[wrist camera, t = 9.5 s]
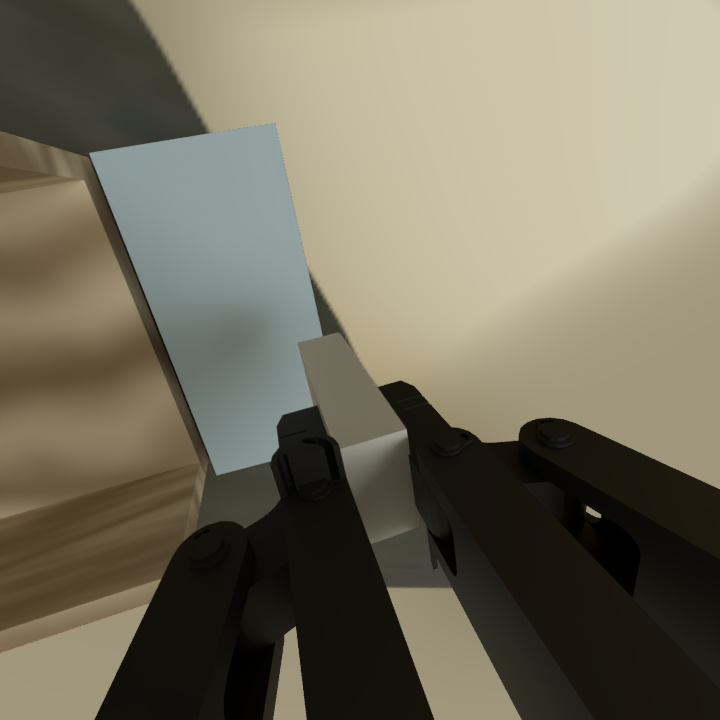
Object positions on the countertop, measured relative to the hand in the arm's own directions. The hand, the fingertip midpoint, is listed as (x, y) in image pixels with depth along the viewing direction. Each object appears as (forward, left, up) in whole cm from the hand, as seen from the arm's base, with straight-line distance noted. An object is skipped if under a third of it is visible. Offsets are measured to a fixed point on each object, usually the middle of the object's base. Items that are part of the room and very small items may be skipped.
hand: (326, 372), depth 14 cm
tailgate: (0, -8, -11) cm, 14 cm away
